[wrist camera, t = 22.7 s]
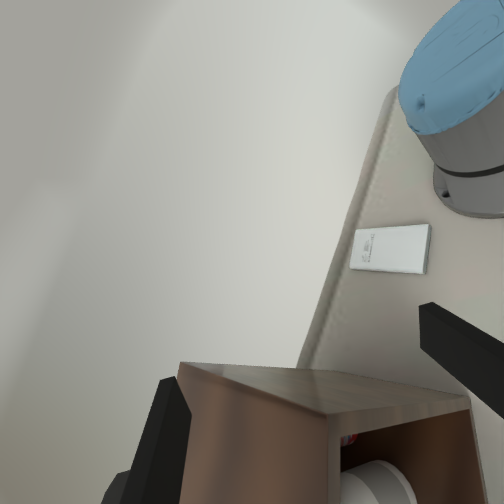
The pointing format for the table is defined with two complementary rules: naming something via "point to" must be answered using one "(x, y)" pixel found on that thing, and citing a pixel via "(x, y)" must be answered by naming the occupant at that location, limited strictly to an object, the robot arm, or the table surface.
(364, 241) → the hard drive
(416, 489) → the cupboard
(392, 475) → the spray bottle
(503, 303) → the table surface
